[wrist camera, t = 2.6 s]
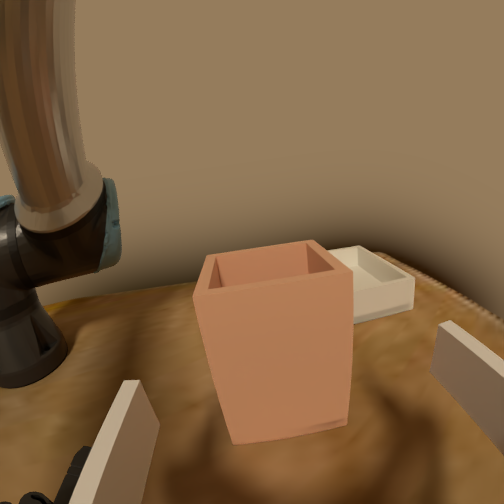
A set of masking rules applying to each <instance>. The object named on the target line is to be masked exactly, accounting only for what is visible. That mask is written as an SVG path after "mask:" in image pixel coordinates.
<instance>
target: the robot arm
mask: <svg viewBox="0 0 504 504" xmlns="http://www.w3.org/2000/svg"><path fill="white" fill-rule="evenodd" d="M75 2H76V0H0V144H1V147H2V150H3V152H4V156H5V159H6V161H7V164H8V167H9V170H10V172H11V175H12V177H13V180H14V183H15V185H16V187H17V190H18V194H17V196H16V199H15V197H14V196H13V195H5V196H1V197H0V387H3V388H15V387H21V386H24V385H27V384H30V383H33V382H35V381H37V380H39V379H41V378H42V377H44V376H46V375H47V374H49V373H50V372H51V371H53V370H54V369H55V368H56V367H57V366H58V365H59V364H60V363H61V362H62V360H63V359H64V357H65V356H66V353H67V344H66V342H65V339H64V337H63V334H62V332H61V331H60V329H59V328H58V327H57V326H56V324H55V323H54V322H53V320H52V319H51V318H50V316H49V315H48V313H47V312H46V311H45V309H44V308H43V306H42V305H41V303H40V302H39V299H38V296H37V293H36V290H35V287H39V286H43V285H46V284H50V283H54V282H57V281H62V280H66V279H70V278H74V277H78V276H82V275H86V274H90V273H98V272H99V271H100V270H103V269H106V268H109V267H112V266H114V265H116V264H117V263H118V262H119V260H120V258H121V252H122V247H121V246H122V245H121V230H120V224H119V208H118V200H117V192H116V188H115V183H114V181H113V180H112V179H110V178H107V179H106V178H102V175H101V173H100V171H99V169H98V168H97V167H96V166H95V165H94V164H93V163H91V162H89V161H86V157H85V152H84V146H83V140H82V133H81V126H80V118H79V109H78V100H77V89H76V75H75V52H74V23H75V22H74V21H75ZM430 373H431V374H432V375H433V376H434V377H435V378H436V379H437V380H438V381H439V382H440V383H441V384H442V386H443V387H444V388H445V389H446V390H447V391H448V392H449V393H450V394H451V395H452V396H453V398H454V399H455V400H456V401H457V402H458V403H459V404H460V405H461V406H462V408H463V409H464V410H465V411H466V412H467V413H468V414H469V415H470V417H471V418H472V419H473V420H474V421H475V422H476V423H477V425H478V426H479V427H480V428H481V429H482V430H483V432H484V433H485V434H486V435H487V436H488V437H489V439H490V440H491V441H492V442H493V443H494V445H495V446H496V447H497V448H498V449H499V451H500V452H501V453H502V454H503V455H504V360H503V359H501V358H500V357H499V356H497V355H496V354H495V353H494V352H492V351H491V350H490V349H488V348H487V347H486V346H484V345H483V344H482V343H481V342H479V341H478V340H477V339H475V338H474V337H473V336H471V335H470V334H469V333H467V332H466V331H464V330H463V329H462V328H460V327H459V326H458V325H456V324H455V323H453V322H452V321H451V320H449V321H446V322H444V323H441V324H438V330H437V337H436V342H435V348H434V353H433V358H432V363H431V368H430ZM159 427H160V423H159V421H158V419H157V417H156V414H155V412H154V410H153V408H152V406H151V404H150V402H149V400H148V397H147V395H146V393H145V391H144V388H143V386H142V384H141V381H140V380H124V381H123V383H122V385H121V387H120V389H119V391H118V393H117V395H116V397H115V400H114V402H113V404H112V406H111V408H110V410H109V412H108V414H107V416H106V418H105V421H104V423H103V425H102V427H101V429H100V431H99V433H98V436H97V438H96V440H95V442H94V445H93V447H88V446H83V447H82V448H81V449H80V450H79V451H78V452H77V453H76V454H75V456H74V458H73V460H72V463H71V467H69V469H68V471H67V475H66V476H65V478H64V480H63V482H62V485H61V487H60V489H59V491H58V494H57V496H56V498H55V501H54V503H53V502H52V501H50V500H49V499H48V498H47V497H46V496H45V495H43V494H42V493H39V492H29V493H27V494H25V495H24V496H23V497H22V498H21V499H20V502H19V504H141V502H142V498H143V493H144V489H145V485H146V480H147V476H148V472H149V467H150V463H151V459H152V455H153V451H154V447H155V443H156V439H157V435H158V431H159ZM0 504H11V503H10V502H6V501H5V502H0Z"/></svg>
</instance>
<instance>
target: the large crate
mask: <svg viewBox="0 0 504 504" xmlns="http://www.w3.org/2000/svg"><path fill="white" fill-rule="evenodd" d="M328 252H329V253H331V254H332V255H333V256H334V257H336V258H337V259H338V260H339V261H341V262H342V263H343V264H344V265H346V266H347V267H348V268H349V269H351V270H352V271H353V299H354V311H353V324H356V323H360V322H365V321H369V320H373V319H377V318H381V317H385V316H389V315H392V314H396V313H400V312H403V311H407V310H411V309H413V302H414V289H415V277H413V276H411V275H410V274H408V273H406V272H405V271H403V270H401V269H399V268H398V267H396V266H394V265H393V264H391V263H389V262H387V261H386V260H384V259H382V258H380V257H379V256H377V255H375V254H373V253H372V252H370V251H368V250H366V249H365V248H363V247H361V246H354V247H347V248H342V249H335V250H329V251H328Z"/></svg>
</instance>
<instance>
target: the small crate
mask: <svg viewBox="0 0 504 504" xmlns="http://www.w3.org/2000/svg"><path fill="white" fill-rule="evenodd" d="M192 297H193V301H194V306H195V310H196V314H197V319H198V323H199V327H200V331H201V335H202V339H203V343H204V347H205V351H206V355H207V359H208V362H209V366H210V370H211V374H212V377H213V381H214V384H215V388H216V391H217V395H218V398H219V402H220V405H221V408H222V412H223V415H224V418H225V421H226V425H227V428H228V431H229V434H230V437H231V440H232V443H233V445H241V444H250V443H259V442H266V441H273V440H279V439H285V438H291V437H296V436H302V435H307V434H311V433H316V432H320V431H325V430H329V429H333V428H337V427H341V426H344V425H347V419H348V409H349V399H350V386H351V372H352V352H353V311H354V299H353V271H352V270H351V269H349V268H348V267H347V266H346V265H344V264H343V263H342V262H341V261H339V260H338V259H337V258H336V257H334V256H333V255H332V254H331V253H329V252H328V251H327V250H325V249H324V248H323V247H321V246H320V245H319V244H318V243H316V242H315V241H314V240H307V241H299V242H293V243H286V244H279V245H272V246H265V247H259V248H252V249H245V250H238V251H232V252H225V253H218V254H212V255H207V257H206V259H205V262H204V265H203V268H202V270H201V273H200V276H199V279H198V282H197V285H196V288H195V290H194V293H193V296H192Z"/></svg>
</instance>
